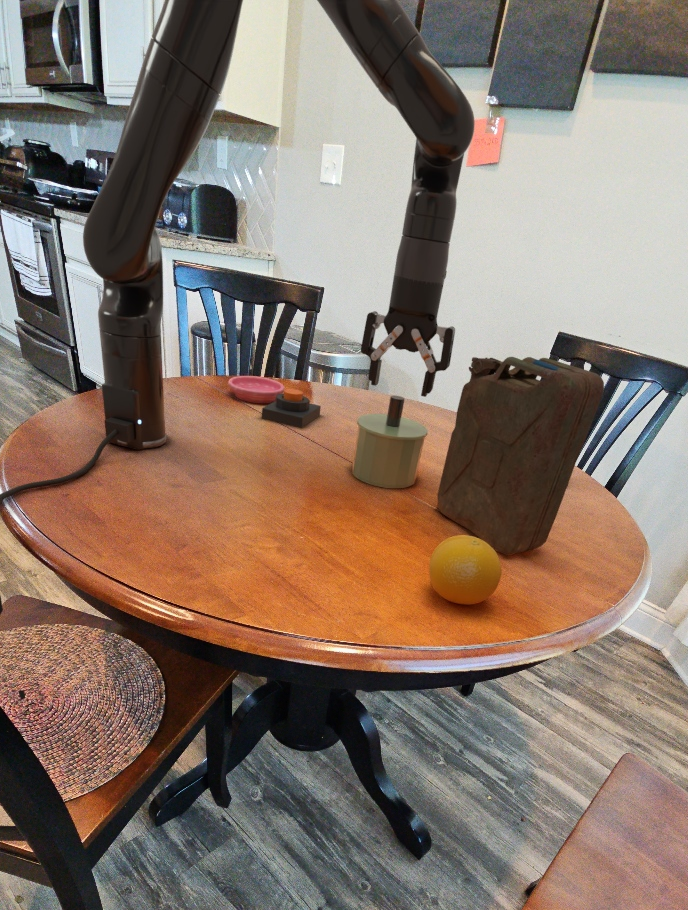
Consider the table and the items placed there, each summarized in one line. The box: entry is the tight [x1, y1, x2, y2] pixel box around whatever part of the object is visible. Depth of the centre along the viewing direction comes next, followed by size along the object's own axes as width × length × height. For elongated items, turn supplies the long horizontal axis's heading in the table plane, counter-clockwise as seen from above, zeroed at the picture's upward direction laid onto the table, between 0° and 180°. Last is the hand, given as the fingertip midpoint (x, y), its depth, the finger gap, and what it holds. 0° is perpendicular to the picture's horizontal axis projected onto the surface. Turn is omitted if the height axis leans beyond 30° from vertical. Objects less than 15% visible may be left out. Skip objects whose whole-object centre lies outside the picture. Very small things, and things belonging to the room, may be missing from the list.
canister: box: [436, 356, 605, 556], centre depth 85 cm, size 19×8×25 cm, turn 32°
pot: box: [351, 425, 426, 489], centre depth 103 cm, size 11×11×8 cm
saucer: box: [228, 375, 285, 404], centre depth 133 cm, size 12×12×3 cm
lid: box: [356, 394, 429, 440], centre depth 99 cm, size 12×12×6 cm
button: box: [283, 388, 304, 402], centre depth 123 cm, size 4×4×2 cm
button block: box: [261, 392, 322, 429], centre depth 124 cm, size 11×9×4 cm
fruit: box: [428, 534, 502, 606], centre depth 72 cm, size 9×8×8 cm
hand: (399, 390), depth 97 cm, fingers open, 8 cm apart
